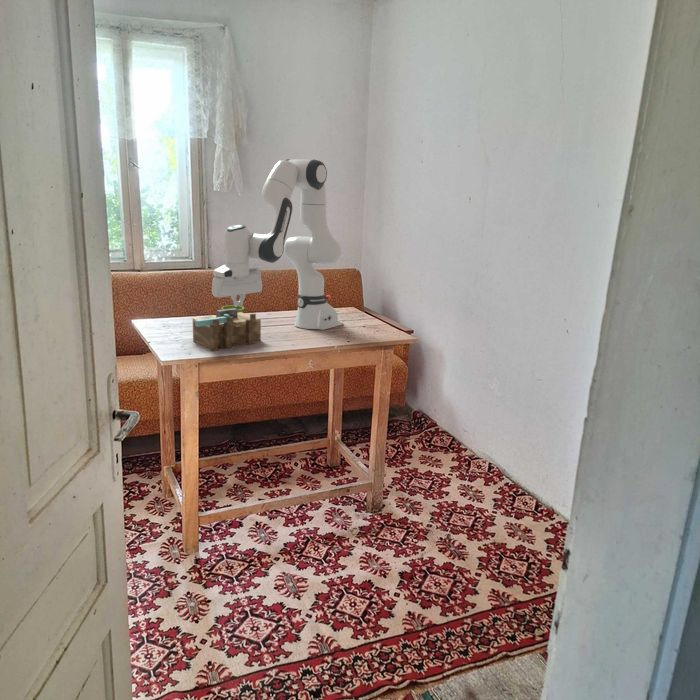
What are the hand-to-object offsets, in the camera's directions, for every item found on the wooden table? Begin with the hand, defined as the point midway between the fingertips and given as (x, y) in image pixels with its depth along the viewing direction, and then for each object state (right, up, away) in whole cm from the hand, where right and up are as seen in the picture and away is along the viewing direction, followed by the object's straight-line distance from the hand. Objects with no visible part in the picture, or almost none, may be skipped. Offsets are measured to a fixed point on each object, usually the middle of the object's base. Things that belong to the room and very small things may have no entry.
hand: (238, 306), depth 227 cm
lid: (-5, -6, +7) cm, 11 cm away
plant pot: (-8, -7, +32) cm, 34 cm away
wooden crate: (-5, -13, +8) cm, 17 cm away
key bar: (-8, -7, -6) cm, 12 cm away
